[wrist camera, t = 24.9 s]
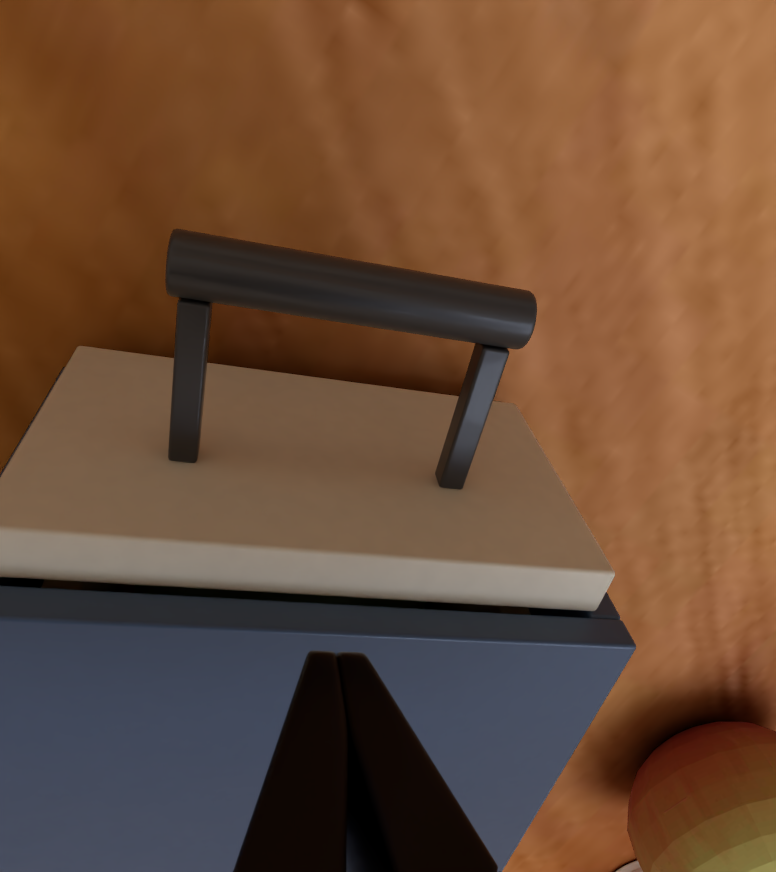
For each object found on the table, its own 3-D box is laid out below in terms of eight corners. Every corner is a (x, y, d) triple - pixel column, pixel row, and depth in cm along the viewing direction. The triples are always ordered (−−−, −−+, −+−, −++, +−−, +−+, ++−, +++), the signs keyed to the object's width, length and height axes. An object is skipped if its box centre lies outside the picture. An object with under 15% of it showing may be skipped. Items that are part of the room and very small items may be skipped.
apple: (623, 703, 31) (716, 893, 25) (815, 679, 32) (954, 854, 26) (590, 814, 37) (658, 995, 30) (755, 790, 38) (857, 959, 31)
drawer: (73, 150, 15) (-68, 248, 9) (573, 247, 18) (724, 373, 12) (83, 680, 24) (18, 907, 18) (411, 689, 27) (450, 887, 21)
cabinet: (62, 366, 19) (-86, 614, 11) (513, 423, 22) (638, 646, 14) (73, 699, 26) (-11, 985, 18) (409, 705, 29) (454, 952, 22)
